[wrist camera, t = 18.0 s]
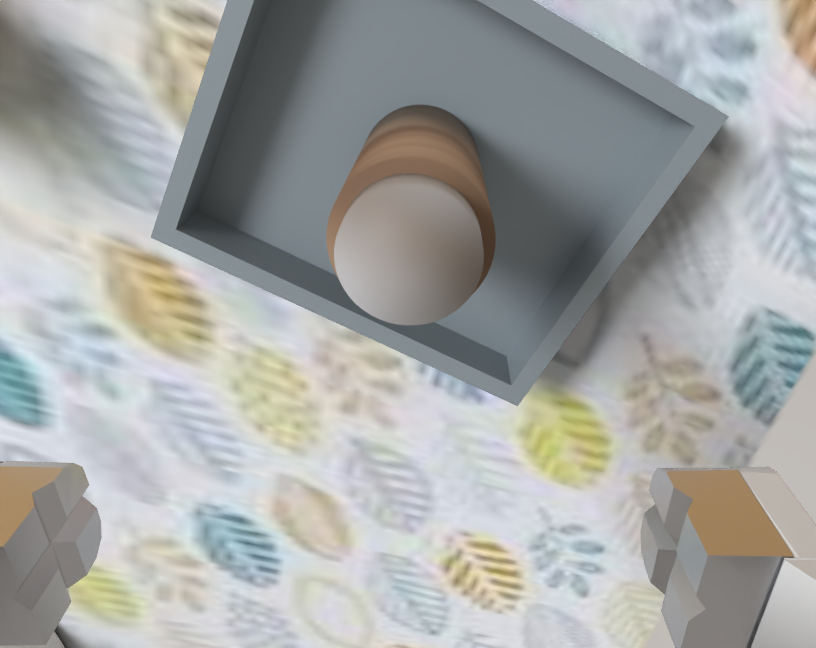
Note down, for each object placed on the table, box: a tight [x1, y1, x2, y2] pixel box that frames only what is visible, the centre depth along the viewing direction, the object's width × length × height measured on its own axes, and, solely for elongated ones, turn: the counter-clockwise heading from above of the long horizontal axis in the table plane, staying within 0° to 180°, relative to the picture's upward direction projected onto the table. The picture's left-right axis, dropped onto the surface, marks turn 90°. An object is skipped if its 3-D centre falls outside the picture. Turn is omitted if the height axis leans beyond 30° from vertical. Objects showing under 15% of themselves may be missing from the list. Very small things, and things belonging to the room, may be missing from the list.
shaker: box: [326, 105, 496, 325], centre depth 21 cm, size 5×5×10 cm
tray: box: [151, 0, 729, 406], centre depth 25 cm, size 14×17×4 cm
